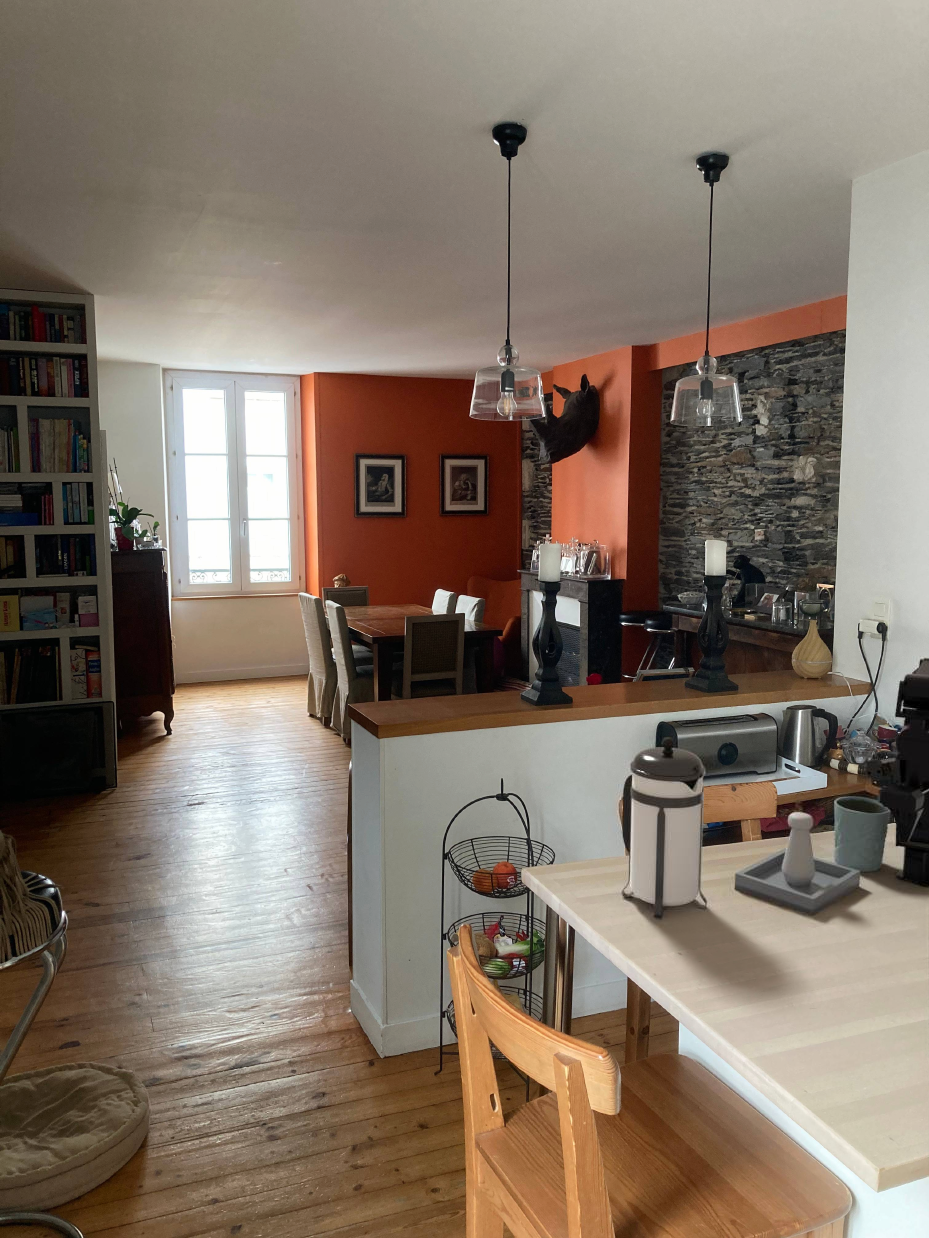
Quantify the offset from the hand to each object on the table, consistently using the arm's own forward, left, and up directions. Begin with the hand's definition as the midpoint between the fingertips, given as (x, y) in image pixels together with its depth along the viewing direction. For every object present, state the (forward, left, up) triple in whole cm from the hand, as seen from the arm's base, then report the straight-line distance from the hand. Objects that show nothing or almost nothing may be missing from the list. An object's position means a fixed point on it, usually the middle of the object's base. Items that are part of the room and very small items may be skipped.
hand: (915, 835), depth 158 cm
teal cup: (-13, -15, -13) cm, 24 cm away
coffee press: (+30, -32, -13) cm, 46 cm away
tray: (+7, -18, -13) cm, 23 cm away
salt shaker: (+7, -18, -12) cm, 22 cm away
